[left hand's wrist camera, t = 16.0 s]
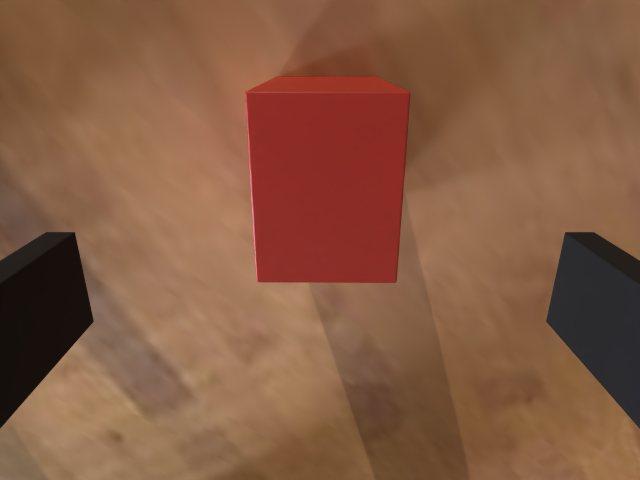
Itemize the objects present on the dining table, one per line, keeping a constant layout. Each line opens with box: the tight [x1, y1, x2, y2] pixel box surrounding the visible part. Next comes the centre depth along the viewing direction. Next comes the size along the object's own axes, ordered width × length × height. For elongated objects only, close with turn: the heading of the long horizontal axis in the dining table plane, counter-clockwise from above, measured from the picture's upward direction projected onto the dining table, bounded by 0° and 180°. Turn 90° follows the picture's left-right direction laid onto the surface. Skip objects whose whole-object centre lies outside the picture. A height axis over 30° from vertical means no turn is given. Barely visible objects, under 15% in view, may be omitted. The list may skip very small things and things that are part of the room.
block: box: [245, 77, 410, 283], centre depth 24 cm, size 6×8×11 cm
